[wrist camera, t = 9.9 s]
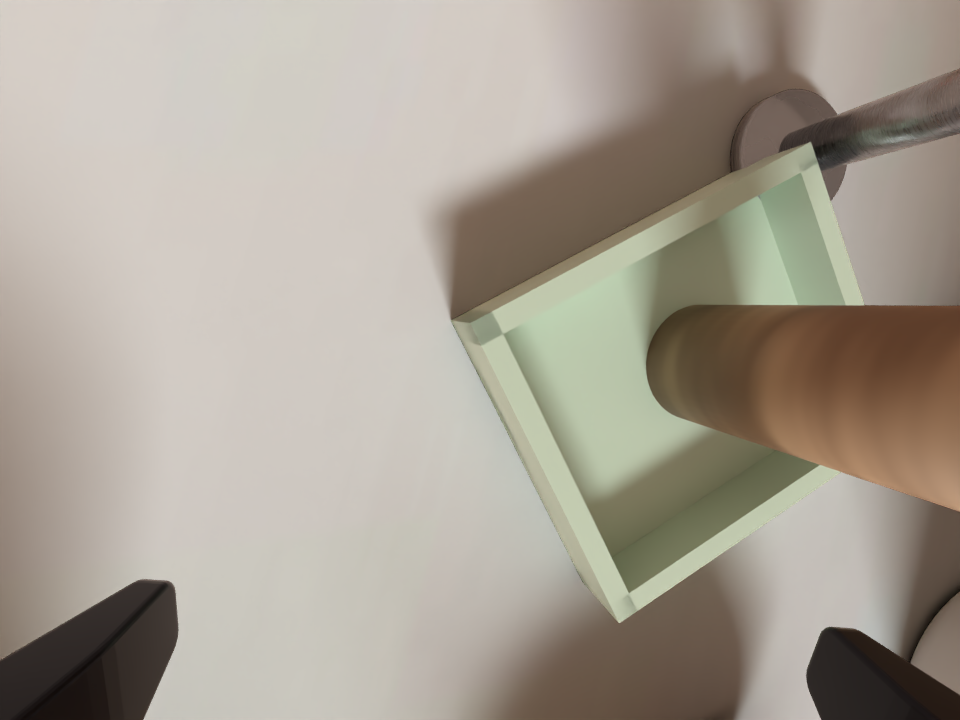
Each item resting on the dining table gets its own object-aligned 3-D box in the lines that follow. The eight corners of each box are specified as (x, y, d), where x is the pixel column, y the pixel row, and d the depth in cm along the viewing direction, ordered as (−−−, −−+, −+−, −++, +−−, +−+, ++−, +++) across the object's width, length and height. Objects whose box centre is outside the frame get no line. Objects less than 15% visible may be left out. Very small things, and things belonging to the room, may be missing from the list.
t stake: (793, 243, 23) (1186, 192, 13) (709, 175, 22) (1068, 51, 11) (876, 95, 24) (1330, -81, 13) (798, 18, 22) (1230, -249, 12)
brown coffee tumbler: (678, 441, 22) (1059, 597, 10) (626, 345, 21) (983, 398, 9) (785, 362, 23) (1244, 423, 11) (740, 266, 22) (1193, 225, 10)
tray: (582, 582, 22) (619, 623, 19) (450, 320, 20) (470, 323, 17) (839, 414, 25) (905, 428, 22) (749, 162, 22) (811, 141, 19)
